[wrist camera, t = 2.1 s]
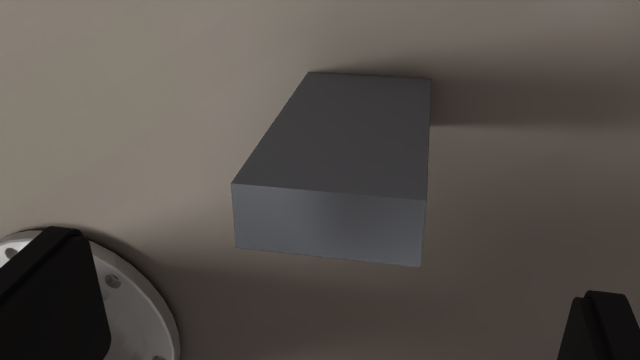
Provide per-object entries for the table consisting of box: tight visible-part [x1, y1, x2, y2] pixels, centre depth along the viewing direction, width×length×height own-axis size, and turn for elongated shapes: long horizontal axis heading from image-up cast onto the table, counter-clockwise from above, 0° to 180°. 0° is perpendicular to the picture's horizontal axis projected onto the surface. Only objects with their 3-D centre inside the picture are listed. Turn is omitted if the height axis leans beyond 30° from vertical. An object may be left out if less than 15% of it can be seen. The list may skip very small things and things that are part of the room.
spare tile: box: [231, 72, 431, 267], centre depth 19 cm, size 2×5×10 cm, turn 90°
